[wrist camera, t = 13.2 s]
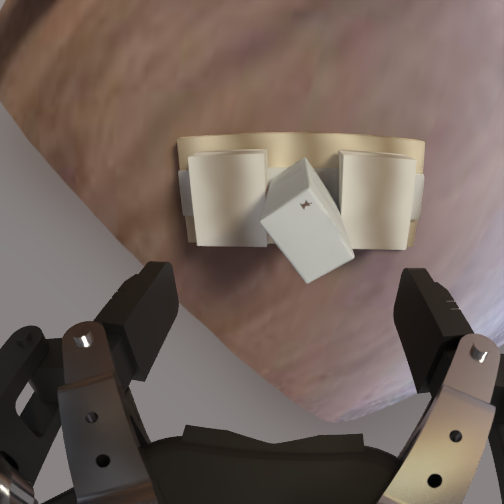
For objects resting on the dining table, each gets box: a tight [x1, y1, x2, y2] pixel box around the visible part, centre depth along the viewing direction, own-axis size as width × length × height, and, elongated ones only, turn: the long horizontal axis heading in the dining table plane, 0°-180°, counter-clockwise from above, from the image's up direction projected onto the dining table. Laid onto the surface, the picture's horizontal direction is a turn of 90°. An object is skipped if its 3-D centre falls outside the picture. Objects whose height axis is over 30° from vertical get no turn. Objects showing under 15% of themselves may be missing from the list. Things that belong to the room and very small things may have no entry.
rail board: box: [177, 132, 425, 250], centre depth 31 cm, size 26×12×6 cm, turn 92°
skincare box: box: [259, 157, 355, 284], centre depth 26 cm, size 6×4×12 cm
